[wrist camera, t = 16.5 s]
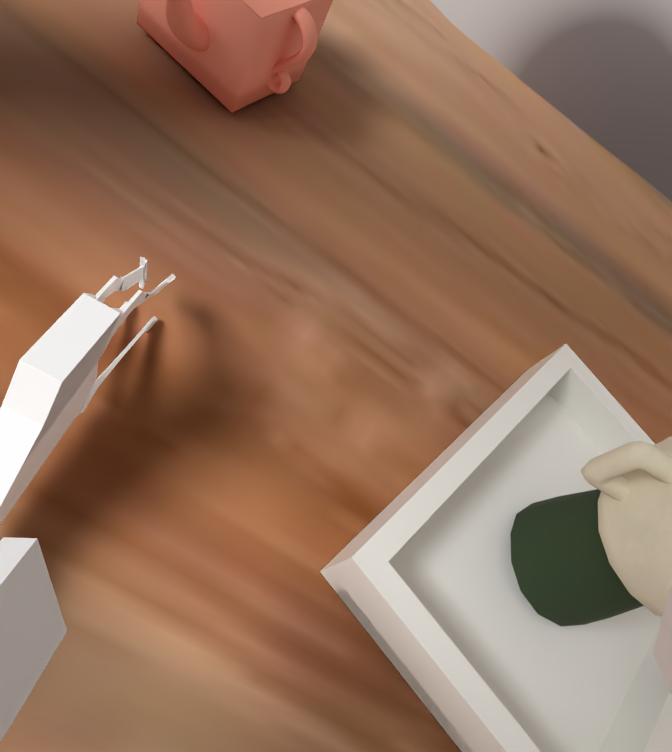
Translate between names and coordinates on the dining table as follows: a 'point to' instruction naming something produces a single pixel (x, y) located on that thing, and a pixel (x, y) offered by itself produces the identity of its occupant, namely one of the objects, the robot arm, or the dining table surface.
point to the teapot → (237, 42)
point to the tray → (507, 584)
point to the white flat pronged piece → (60, 381)
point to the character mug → (600, 540)
